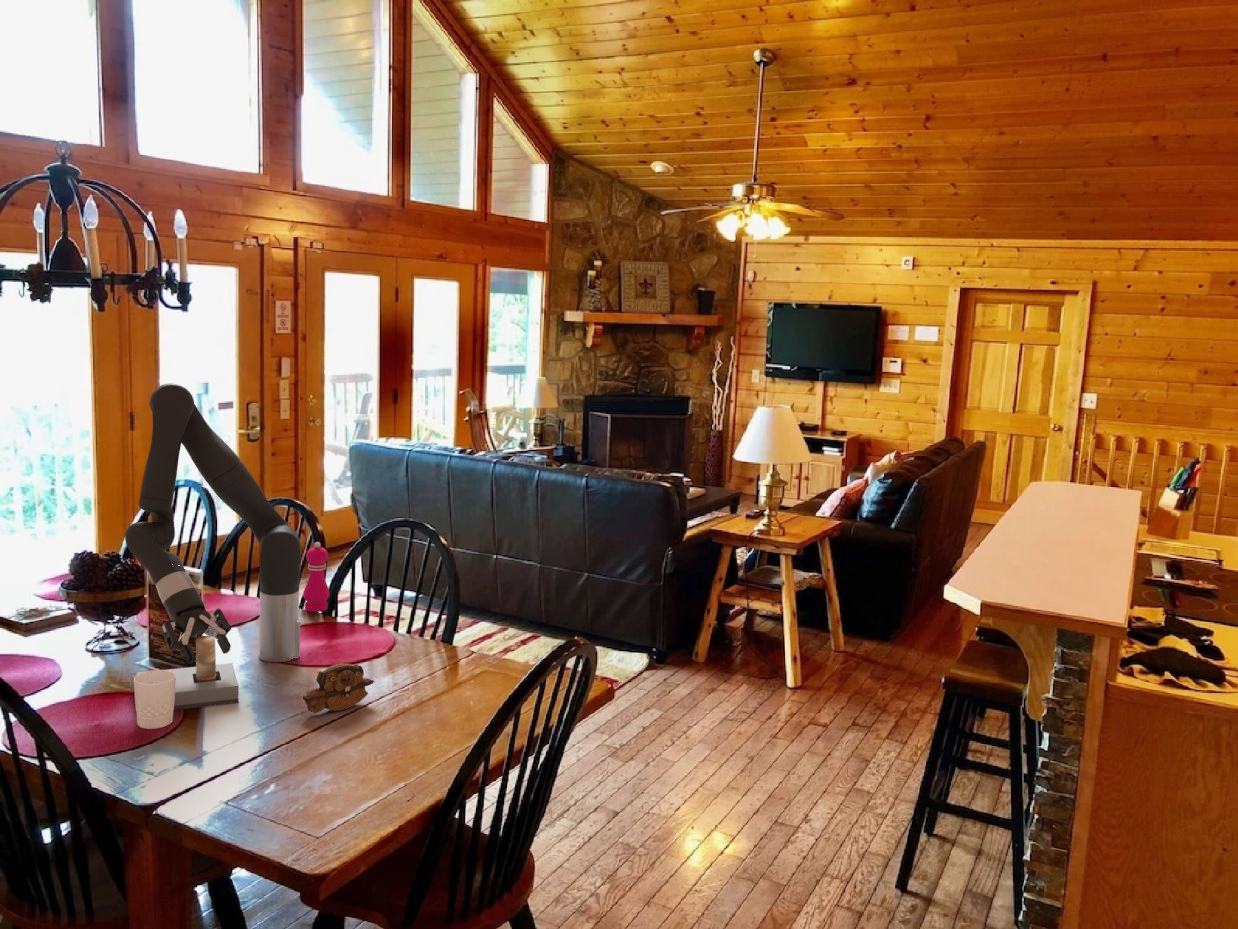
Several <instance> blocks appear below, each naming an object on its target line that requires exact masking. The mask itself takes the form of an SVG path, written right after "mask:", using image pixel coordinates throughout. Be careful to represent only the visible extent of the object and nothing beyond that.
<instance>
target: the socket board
mask: <svg viewBox="0 0 1238 929" xmlns="http://www.w3.org/2000/svg"><path fill="white" fill-rule="evenodd" d="M166 670H167V671H171V672H174V673H175V674H176V683H175V702H174V709H173V711H178V710H179V709H180V710H186V709H187V710H188V709H196V708H205V707H212V706H213V707H214V706H221V705H232V704H239V703H240V702H239V695H240V694H239V690H240V689H239V686H240V685H239V683H238V679H237V676H236V674H237V673H236V672H235V668H234V665H233V663H232V662H230V663H221V664H216V679H215V680H214V681H209V682H200V683H198V681H197V680H196V666H191V667H190V666H189V667H181V668H179V667H178V668H170V669H166ZM143 672H144V671H140V672H136V676H137V675H138V674H141V673H143ZM180 710H179V711H180Z"/></svg>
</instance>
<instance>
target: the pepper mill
mask: <svg viewBox="0 0 1238 929" xmlns="http://www.w3.org/2000/svg"><path fill="white" fill-rule="evenodd" d="M305 554H306V556H305V557H306V558H305V559H306V561H307V562H308V563H307V569H308V570H309V576H308V581H307V582H306V585H305V587H304V589H303V594H302V595H303V599H304V600H305V603H304V610H305V611H306V612H309V613H319V612H324V611H326V610H327V609H328V601H327V600H328V599H329V598H330V589H329V586H328V584H327V582H326V579H325V570H326V569H327V566H326V565H327V563H326V562H327V560H329V559H328V558H329V553H328V550H326V549H325V547H322V545H321V542H319V541H316V542H315V543H314V547H313V546H312V547H310V548H309V549H308V550H307V551H306V553H305Z"/></svg>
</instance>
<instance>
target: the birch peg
mask: <svg viewBox="0 0 1238 929" xmlns="http://www.w3.org/2000/svg"><path fill="white" fill-rule="evenodd" d="M195 657H196V660H195V667H196V680H197V681H198V683H200V682H209V681H214V680H215V679H216V665H217V664H216V663H217V662H216V638H215V637H213V636H208V635H202V636H201V635H200V636H198V637H197V638H195Z"/></svg>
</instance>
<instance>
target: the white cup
mask: <svg viewBox="0 0 1238 929" xmlns="http://www.w3.org/2000/svg"><path fill="white" fill-rule="evenodd" d="M167 670H168V669H154V670H148V671H142V672H143V673H141V674H138V675H137V674H136V675H135V676H134V677H133V685H134V686H133V689H134V702H135V703H134V704H135V712H136V724H137V726H139V728H142V729H147V730H153V729H154V730H155V729H161V728H164V727H166V726H167V727H168V726H169V725H170V724H171V723H173V721H174V710H173V709H174V702H175V683H176V674H175V673H174V672H171V671H167Z"/></svg>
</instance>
